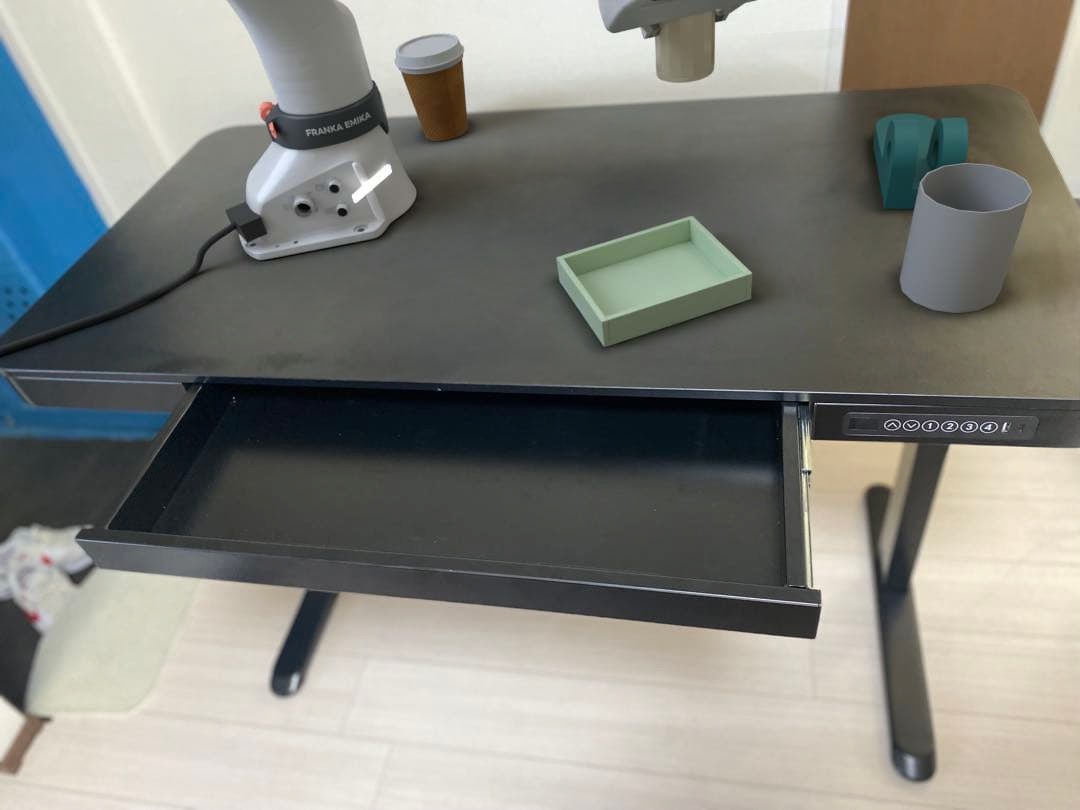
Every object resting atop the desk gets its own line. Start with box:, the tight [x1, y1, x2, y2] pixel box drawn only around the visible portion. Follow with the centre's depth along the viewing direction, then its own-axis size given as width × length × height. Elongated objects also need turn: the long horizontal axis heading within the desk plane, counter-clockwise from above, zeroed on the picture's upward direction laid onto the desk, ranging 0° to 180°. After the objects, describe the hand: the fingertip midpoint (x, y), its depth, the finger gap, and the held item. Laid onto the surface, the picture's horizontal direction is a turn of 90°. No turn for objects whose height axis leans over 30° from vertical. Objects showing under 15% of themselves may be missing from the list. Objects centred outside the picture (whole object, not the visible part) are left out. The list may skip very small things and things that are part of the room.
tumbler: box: [654, 10, 716, 84], centre depth 86 cm, size 6×6×9 cm
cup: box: [899, 162, 1033, 314], centre depth 70 cm, size 8×8×10 cm
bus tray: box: [555, 215, 753, 348], centre depth 78 cm, size 15×12×3 cm
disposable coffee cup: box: [394, 33, 469, 142], centre depth 109 cm, size 10×10×12 cm
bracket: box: [872, 112, 969, 210], centre depth 86 cm, size 18×7×8 cm, turn 168°
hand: (681, 23), depth 86 cm, fingers closed on tumbler, 6 cm apart
